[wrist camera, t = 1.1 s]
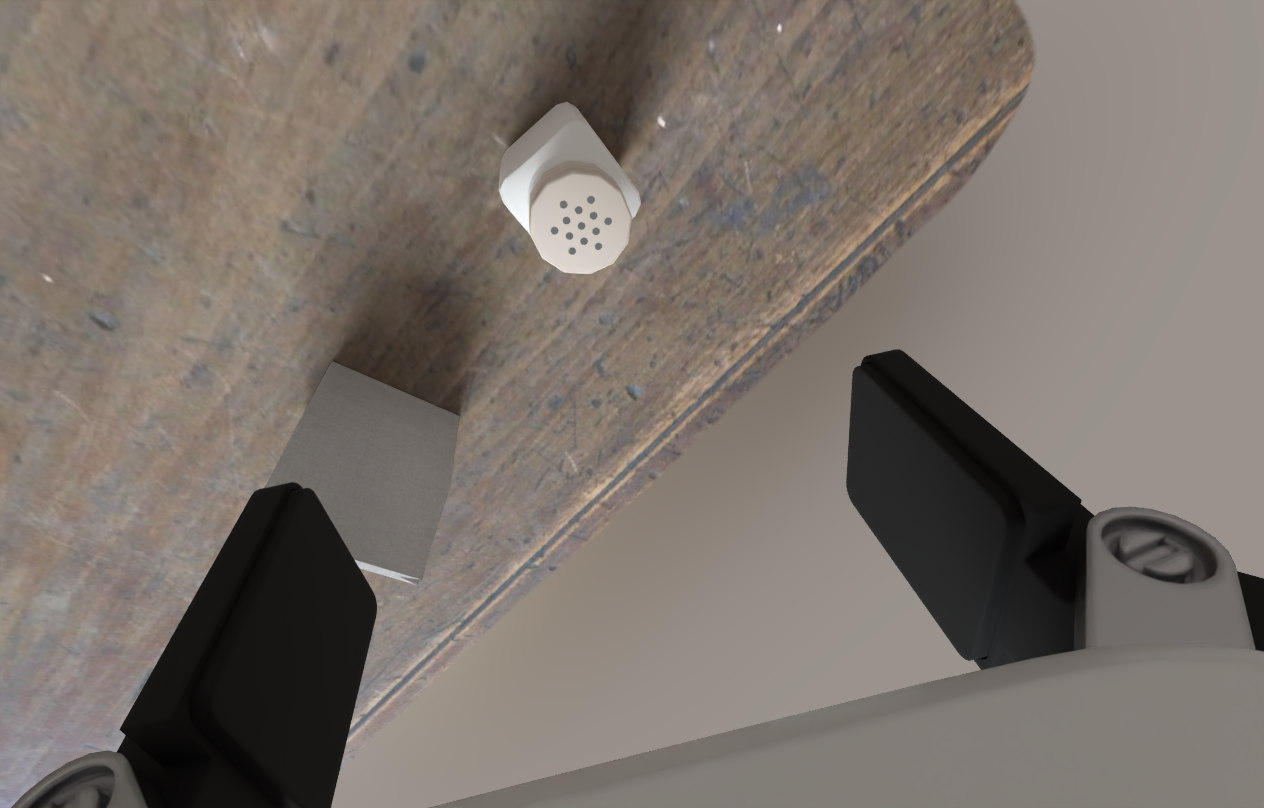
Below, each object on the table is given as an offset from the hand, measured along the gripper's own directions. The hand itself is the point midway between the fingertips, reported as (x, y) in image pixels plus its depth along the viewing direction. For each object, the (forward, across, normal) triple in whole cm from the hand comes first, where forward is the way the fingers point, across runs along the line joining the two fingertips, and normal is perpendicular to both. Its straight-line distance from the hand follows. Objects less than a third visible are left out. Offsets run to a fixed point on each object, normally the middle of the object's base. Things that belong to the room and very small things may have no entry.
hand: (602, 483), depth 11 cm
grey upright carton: (+20, +11, +9) cm, 25 cm away
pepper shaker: (+20, -1, -2) cm, 20 cm away
